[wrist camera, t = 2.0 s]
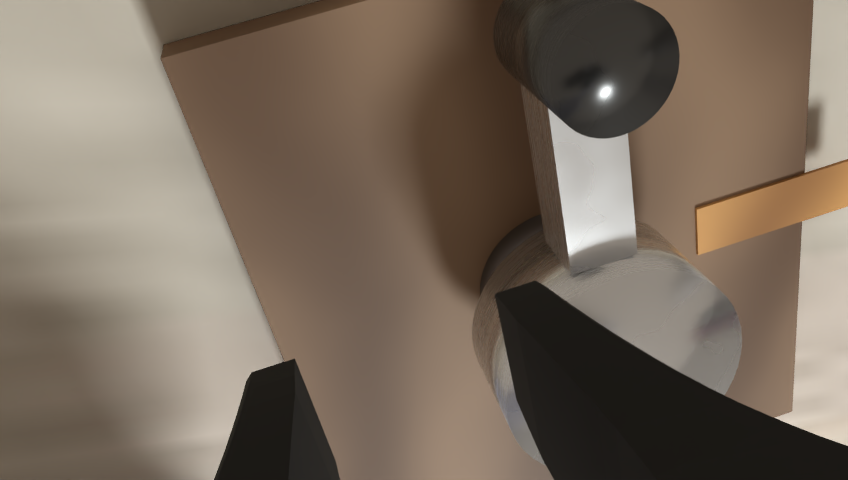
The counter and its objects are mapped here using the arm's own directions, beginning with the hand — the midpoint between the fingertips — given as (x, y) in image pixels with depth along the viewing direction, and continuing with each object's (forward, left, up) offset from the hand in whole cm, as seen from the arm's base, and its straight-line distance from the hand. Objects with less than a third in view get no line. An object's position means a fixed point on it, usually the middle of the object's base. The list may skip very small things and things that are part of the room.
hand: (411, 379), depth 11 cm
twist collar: (+5, -3, -7) cm, 9 cm away
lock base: (+5, -6, -10) cm, 13 cm away
